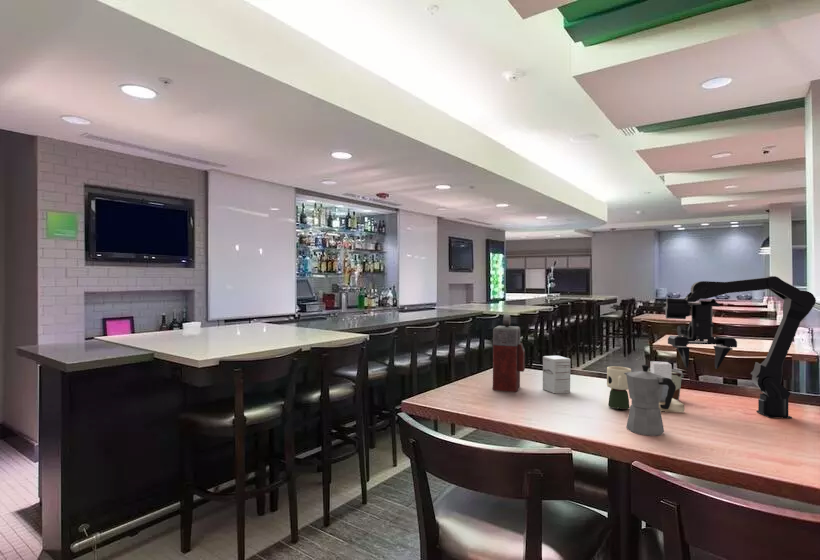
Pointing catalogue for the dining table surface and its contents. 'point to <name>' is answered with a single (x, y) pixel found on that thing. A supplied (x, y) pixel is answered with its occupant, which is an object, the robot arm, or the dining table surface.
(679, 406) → the stand
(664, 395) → the block
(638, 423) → the coffeepot
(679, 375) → the food container
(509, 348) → the red thermos flask
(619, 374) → the character mug
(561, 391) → the supplement box
